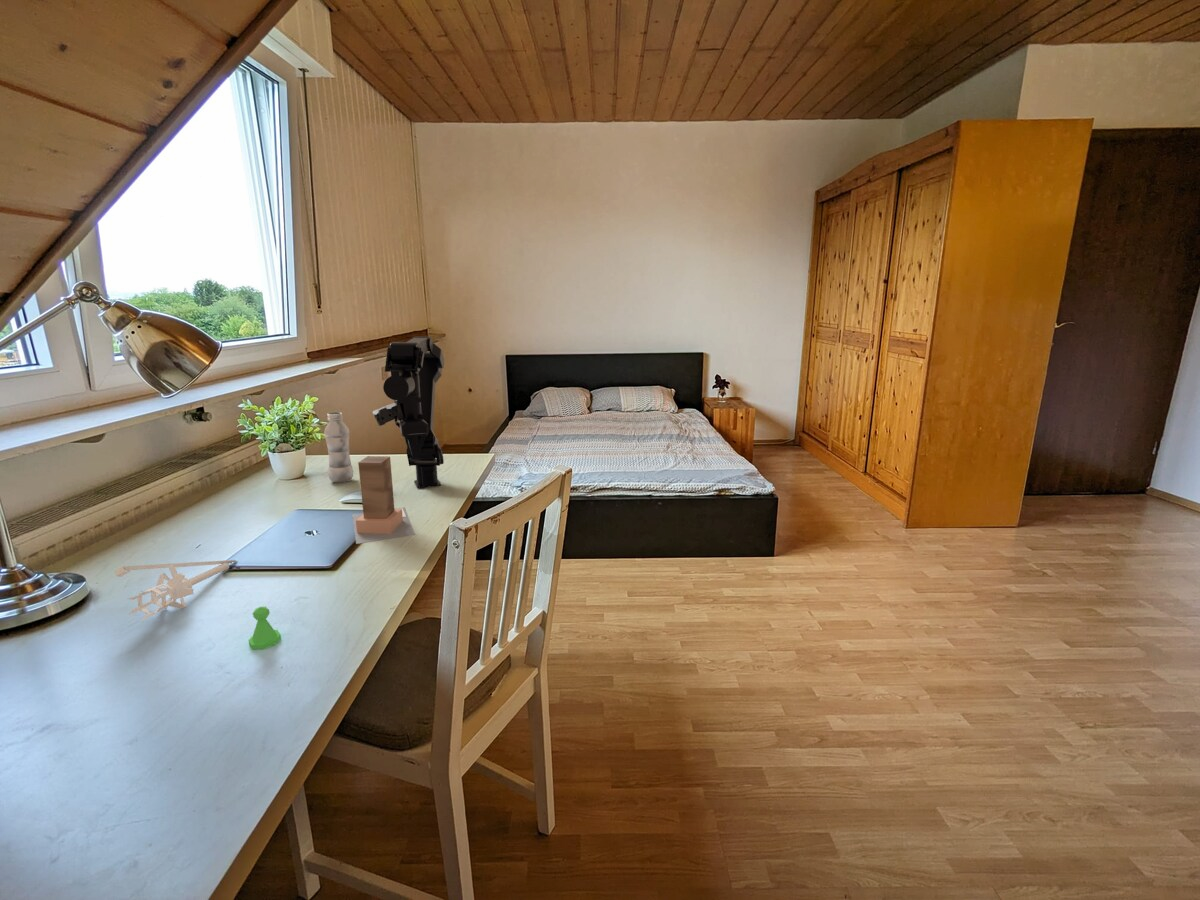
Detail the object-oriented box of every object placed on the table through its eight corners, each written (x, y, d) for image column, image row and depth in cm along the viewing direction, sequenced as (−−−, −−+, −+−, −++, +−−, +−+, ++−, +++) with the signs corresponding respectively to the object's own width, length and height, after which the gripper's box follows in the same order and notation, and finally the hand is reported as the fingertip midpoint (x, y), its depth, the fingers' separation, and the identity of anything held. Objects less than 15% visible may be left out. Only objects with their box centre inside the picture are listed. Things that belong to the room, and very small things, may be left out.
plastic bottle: (337, 477, 164) (330, 410, 158) (359, 478, 163) (352, 411, 157) (324, 484, 157) (316, 415, 152) (346, 485, 156) (339, 416, 151)
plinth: (371, 519, 130) (370, 508, 130) (402, 520, 130) (401, 508, 130) (356, 532, 123) (355, 520, 122) (390, 533, 123) (389, 521, 122)
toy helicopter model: (239, 609, 110) (118, 629, 85) (223, 568, 112) (100, 577, 87) (267, 594, 110) (153, 610, 85) (250, 553, 111) (135, 557, 87)
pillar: (373, 510, 128) (368, 456, 125) (394, 510, 128) (390, 456, 125) (363, 518, 124) (358, 462, 120) (386, 518, 124) (381, 462, 120)
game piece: (252, 636, 87) (246, 602, 86) (283, 631, 89) (278, 597, 87) (246, 652, 83) (240, 616, 82) (278, 646, 85) (273, 611, 83)
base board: (352, 518, 134) (352, 513, 133) (404, 511, 139) (404, 506, 138) (356, 548, 118) (356, 542, 118) (415, 538, 123) (415, 533, 123)
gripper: (370, 389, 143) (375, 448, 147) (376, 401, 126) (382, 467, 131) (415, 387, 147) (419, 444, 151) (427, 398, 131) (431, 462, 135)
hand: (412, 453), depth 142 cm, fingers open, 9 cm apart
